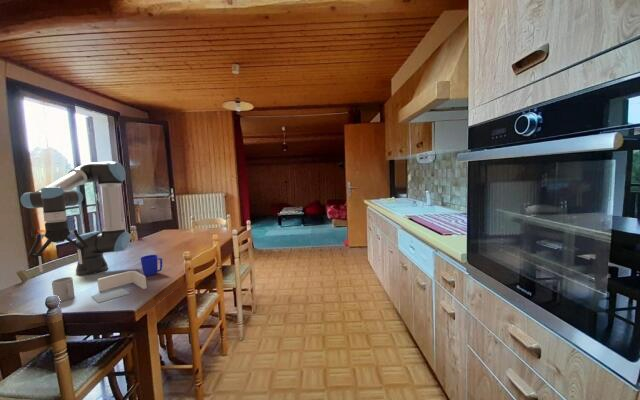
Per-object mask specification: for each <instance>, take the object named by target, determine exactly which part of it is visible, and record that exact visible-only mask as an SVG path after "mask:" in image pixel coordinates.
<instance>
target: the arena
mask: <svg viewBox="0 0 640 400" xmlns="http://www.w3.org/2000/svg"><path fill="white" fill-rule="evenodd" d="M96 280H97V287H98V291H99V292H103V291H107V290H111V289H114V288H116V287H117V288H119V287H121V286H125V285H129V284H132V283H133V284H135V285H136V286H138V287H139V288H141V289H142V290H144V289H145V290H146V289H147V278H146V275H144V274H143V273H140V272H138V271H136V270H135V269H133V270H129V271H124V272H120V273H116V274H112V275H108V276H104V277H100V278H97V279H96Z"/></svg>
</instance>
